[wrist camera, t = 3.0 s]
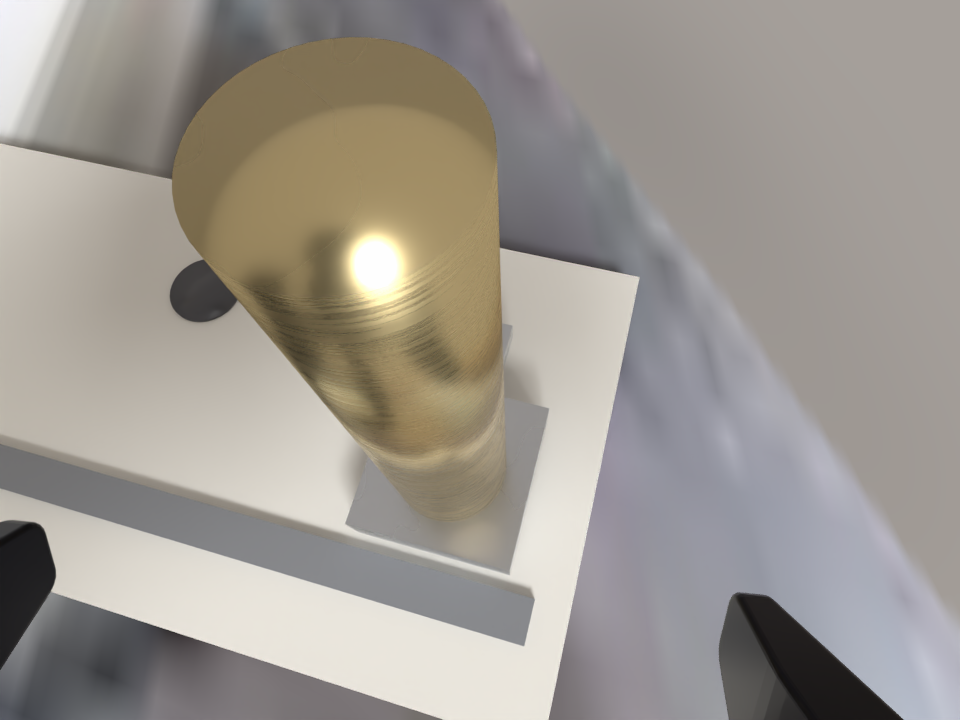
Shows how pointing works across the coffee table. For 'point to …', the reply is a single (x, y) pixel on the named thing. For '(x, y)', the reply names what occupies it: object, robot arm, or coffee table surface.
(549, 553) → the plate
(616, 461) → the coffee table surface
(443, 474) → the leg
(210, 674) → the coffee table surface
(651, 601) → the coffee table surface
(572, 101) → the coffee table surface
